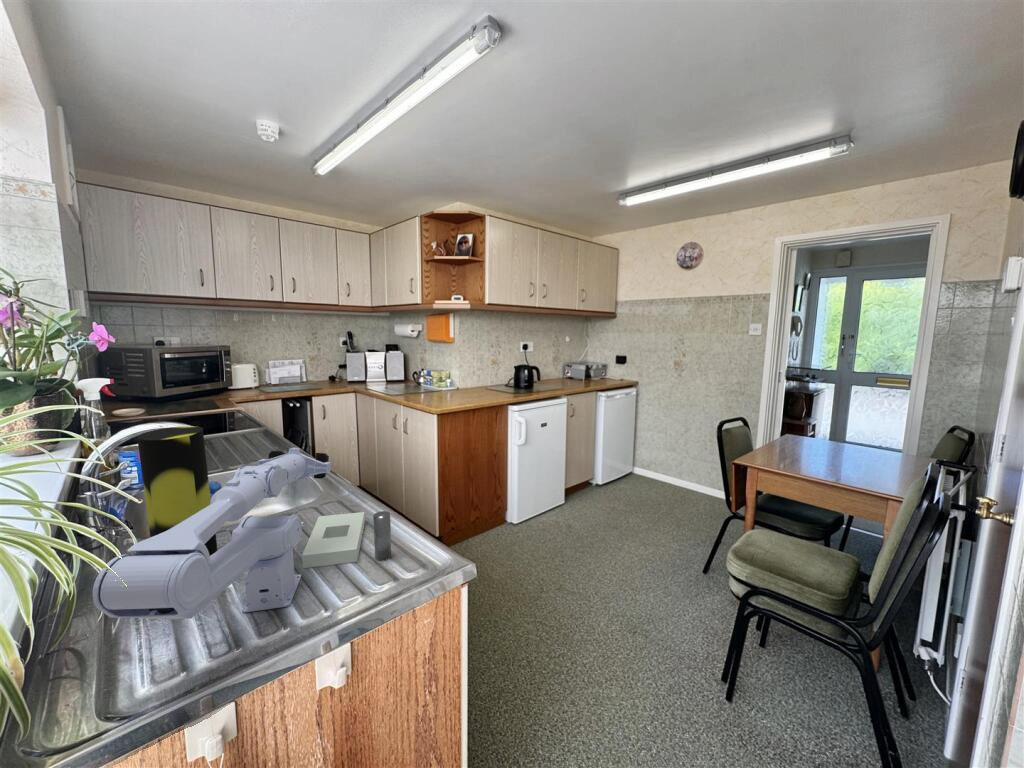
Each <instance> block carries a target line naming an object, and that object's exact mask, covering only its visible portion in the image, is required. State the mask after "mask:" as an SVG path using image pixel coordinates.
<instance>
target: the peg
mask: <svg viewBox="0 0 1024 768" xmlns="http://www.w3.org/2000/svg"><path fill="white" fill-rule="evenodd" d="M372 517H373V540H374V541H373V542H374V544H373V545H374V559H375V561H380V562H383V561H382V560H384V561H387V560H389V559H390V558H391V557H392V556H391V555H392V529H391V527H392V525H391V513H390V512H389V511H387V510H384V511H383V510H381V511H377V512H375V513H374V514H373V515H372ZM388 558H389V559H388ZM386 559H387V560H386Z"/></svg>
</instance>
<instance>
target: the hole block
mask: <svg viewBox="0 0 1024 768" xmlns="http://www.w3.org/2000/svg"><path fill="white" fill-rule="evenodd" d="M365 514H366V513H365V511H361V512H360V511H359V512H352V513H350V512H349V513H339V514H330V515H329V514H327V515H320V516H318V518H317V520H316V522H315V524H314V527H313V529H312V531H311V533H310V535H309V538H308V540H307V543H306V546H305V548H304V549H303V552H302V554H301V563H302V569H308V568H317V567H324V566H325V567H327V566H332V565H334V566H335V565H342V564H350V563H356V562H357V563H358V560H359V555H360V549H361V544H362V539H363V535H362V534H364V530H363V529H365V525H364V524H365V523H366V520H365V519H366V517H365Z"/></svg>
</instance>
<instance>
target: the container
mask: <svg viewBox="0 0 1024 768" xmlns="http://www.w3.org/2000/svg"><path fill="white" fill-rule="evenodd" d="M136 440H137V447H138V448H137V449H138V455H139V461H140V469H141V475H142V476H141V477H142V483H143V484H142V485H143V493H144V499H145V506H146V514H147V522H148V529H149V538H151V537H153V536H156V535H158V534H161V533H163V532H165V531H167V530H169V529H171V528H172V527H174V526H176V525H177V524H179V523H181V522H182V521H184V520H186V519H187V518H189V517H191V516H192V515H194V514H196V513H197V512H199V511H201V510H202V509H204V508H206V507H207V506H209V505H210V500H211V499H210V490H209V483H210V482H209V473H208V472H209V471H208V465H207V455H206V446H205V436H204V428H203V427H201V426H194V425H186V426H183V425H181V426H171V427H165V428H163V427H162V428H159V429H153V430H149V431H146V432H142V433H141V434H139V435H137V437H136ZM204 545H205V546H206V548H207V549H208V552H209V555H210V556H211V555H212V554H214V553H215V552H216V551H218V543H217V532H216V533H215V534H214V535H213V536H212V537H211V538H210V539H209V540H208V541H207V542H206V543H205V544H204Z"/></svg>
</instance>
